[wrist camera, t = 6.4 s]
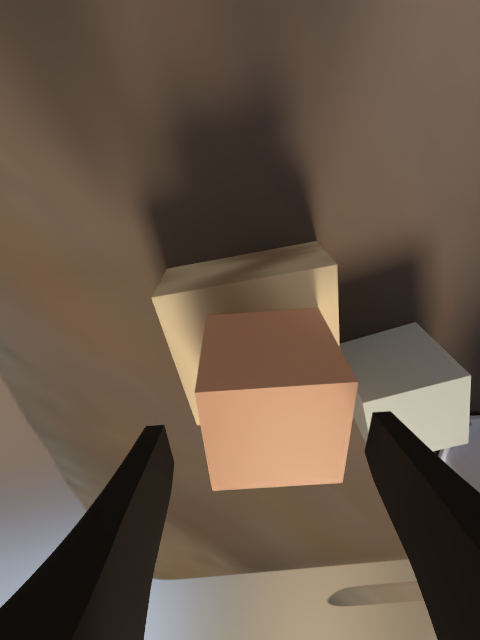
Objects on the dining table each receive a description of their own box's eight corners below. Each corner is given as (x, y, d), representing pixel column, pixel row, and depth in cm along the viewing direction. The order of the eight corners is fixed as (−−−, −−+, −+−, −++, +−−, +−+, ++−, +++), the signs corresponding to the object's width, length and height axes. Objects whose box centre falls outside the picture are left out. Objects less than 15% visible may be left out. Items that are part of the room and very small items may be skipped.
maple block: (314, 239, 16) (337, 264, 13) (322, 359, 20) (341, 404, 17) (168, 266, 17) (151, 297, 13) (203, 378, 21) (197, 424, 17)
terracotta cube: (318, 307, 14) (358, 381, 9) (312, 392, 16) (342, 482, 12) (206, 315, 14) (194, 392, 9) (217, 398, 16) (212, 490, 12)
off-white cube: (415, 321, 19) (471, 375, 14) (419, 381, 21) (468, 443, 17) (333, 344, 19) (362, 403, 15) (346, 400, 22) (374, 464, 17)
